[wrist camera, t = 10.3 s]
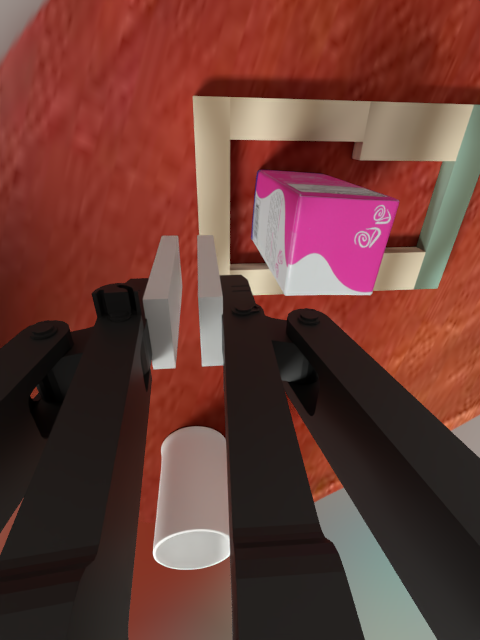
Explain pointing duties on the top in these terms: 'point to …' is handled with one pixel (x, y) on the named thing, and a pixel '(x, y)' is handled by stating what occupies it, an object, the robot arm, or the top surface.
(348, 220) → the supplement box
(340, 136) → the cream and green frame
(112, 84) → the top surface
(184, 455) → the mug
